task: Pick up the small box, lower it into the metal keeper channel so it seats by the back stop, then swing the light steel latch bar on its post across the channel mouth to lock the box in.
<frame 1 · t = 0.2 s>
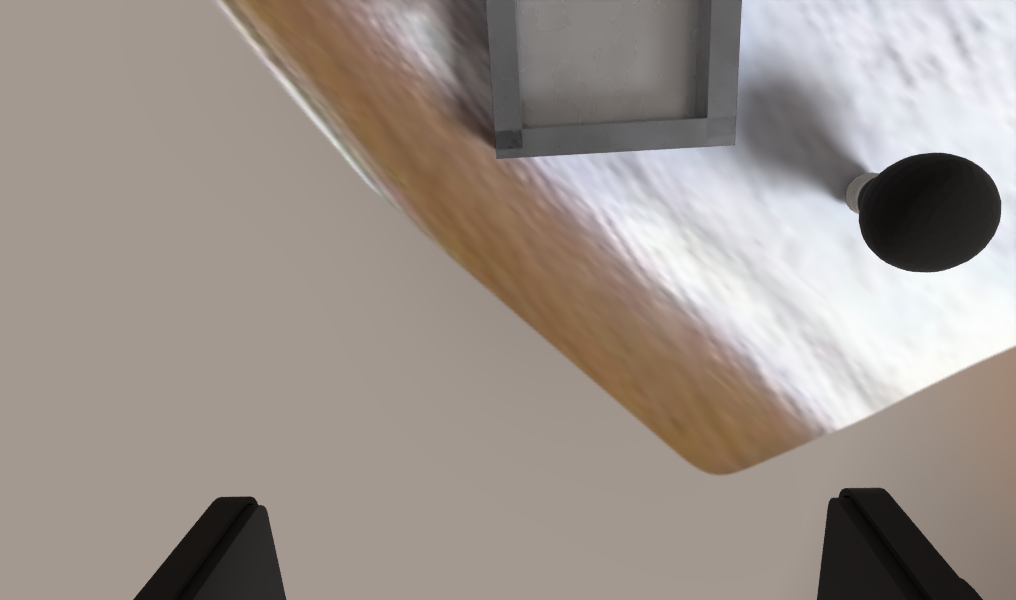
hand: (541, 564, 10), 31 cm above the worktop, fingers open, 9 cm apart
keeper: (606, 29, 36), on the worktop
light bulb: (858, 190, 38), on the worktop
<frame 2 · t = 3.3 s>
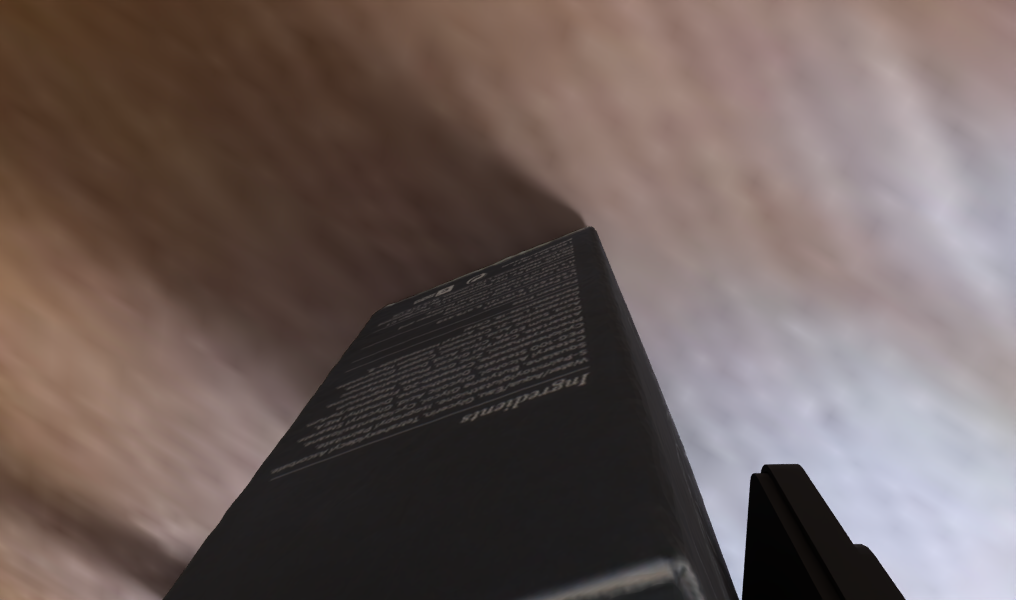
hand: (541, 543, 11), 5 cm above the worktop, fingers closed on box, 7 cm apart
box: (543, 402, 16), on the worktop, touching gripper
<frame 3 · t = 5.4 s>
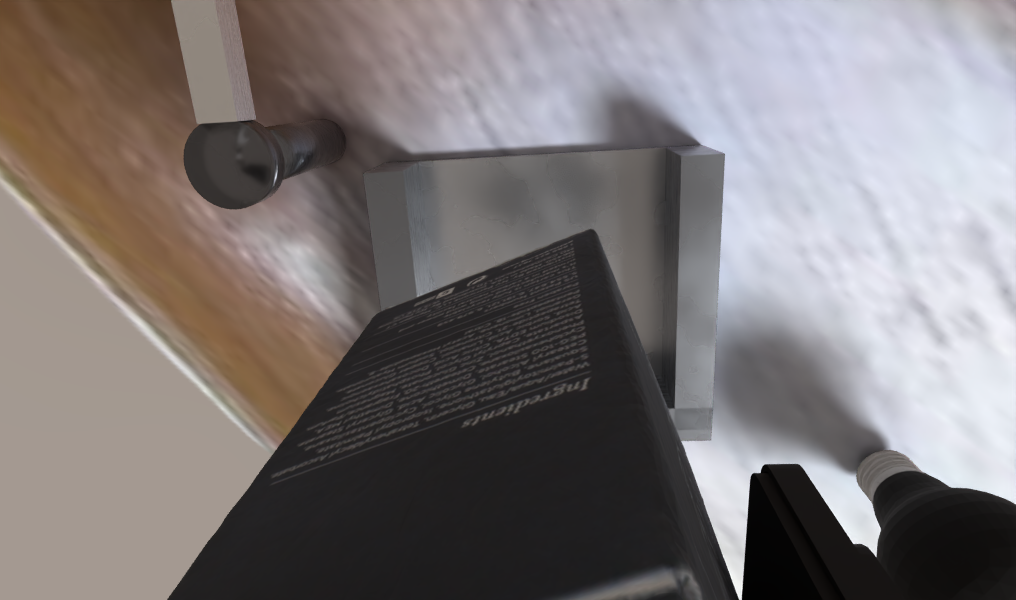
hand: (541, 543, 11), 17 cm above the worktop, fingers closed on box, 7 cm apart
keeper: (545, 270, 27), on the worktop
light bulb: (872, 459, 30), on the worktop
box: (544, 404, 16), point 12 cm above the worktop, touching gripper
when the fingers open (7 cm above the worktop, at t = 7.5 s): box drops 1 cm, resting on keeper.
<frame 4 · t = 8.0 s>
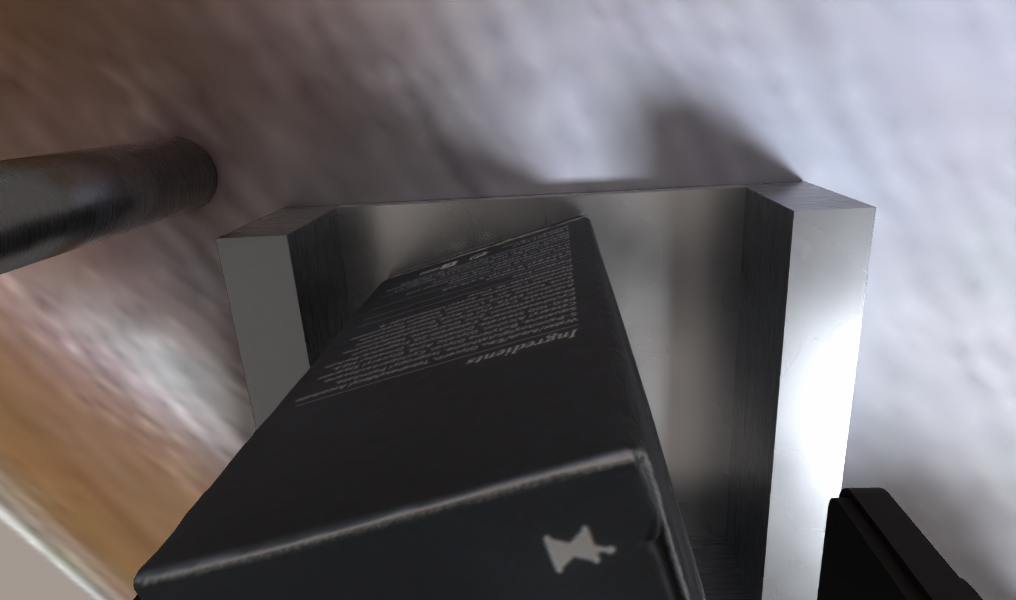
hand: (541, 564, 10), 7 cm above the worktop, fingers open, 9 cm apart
keeper: (544, 377, 17), on the worktop
box: (530, 376, 17), resting on keeper
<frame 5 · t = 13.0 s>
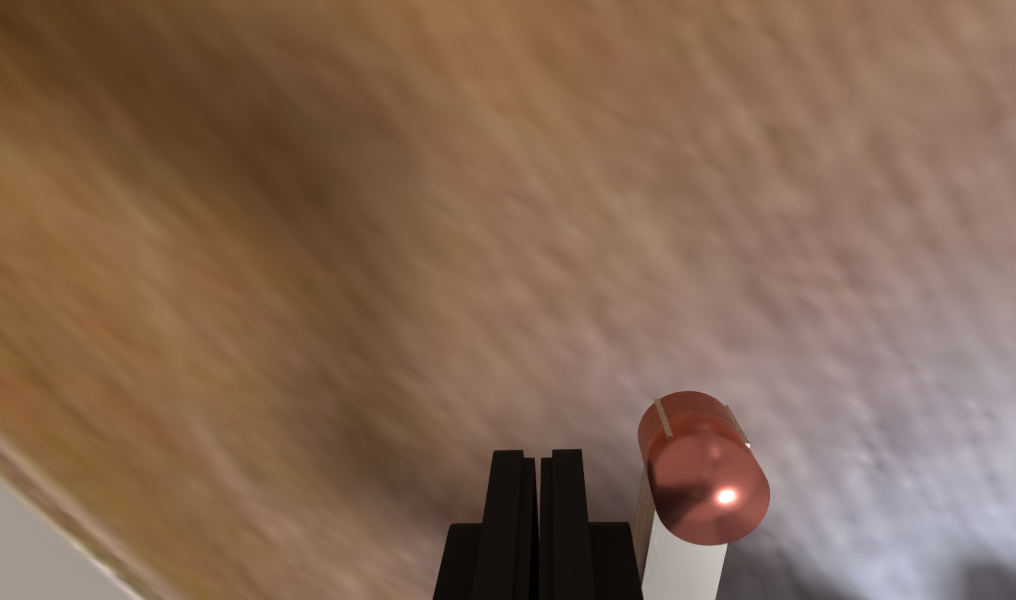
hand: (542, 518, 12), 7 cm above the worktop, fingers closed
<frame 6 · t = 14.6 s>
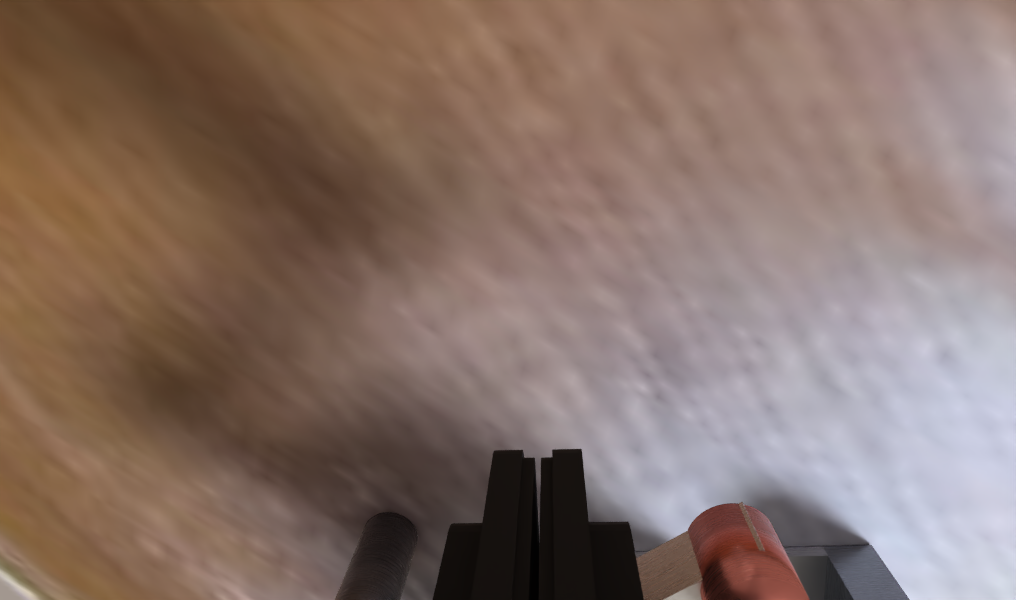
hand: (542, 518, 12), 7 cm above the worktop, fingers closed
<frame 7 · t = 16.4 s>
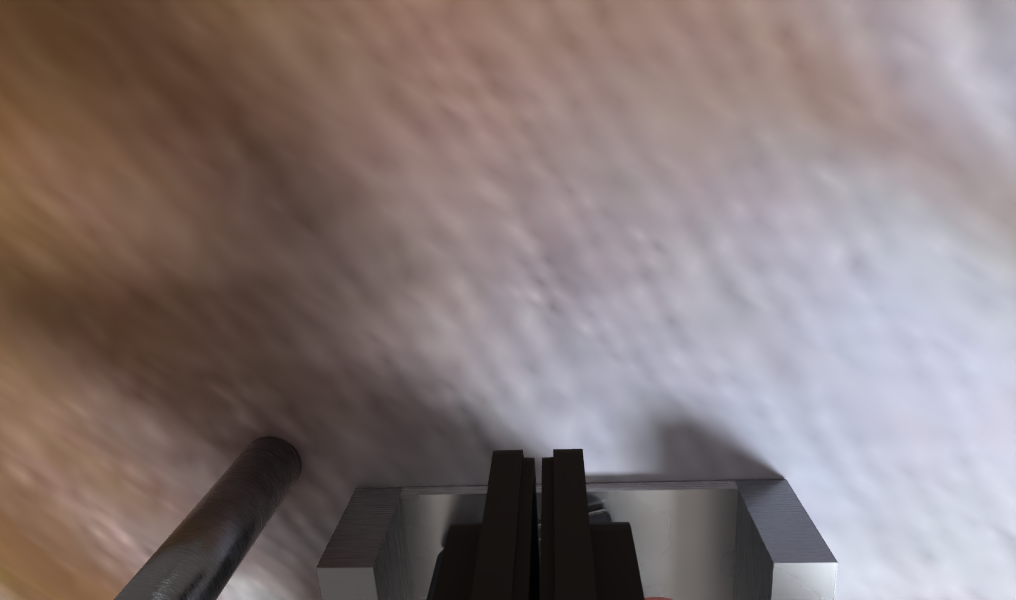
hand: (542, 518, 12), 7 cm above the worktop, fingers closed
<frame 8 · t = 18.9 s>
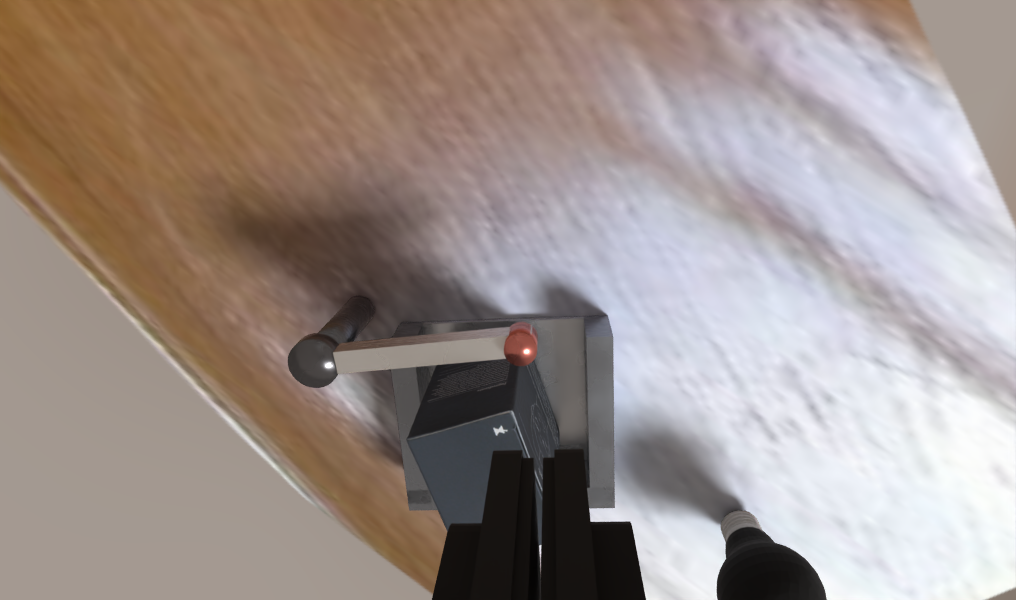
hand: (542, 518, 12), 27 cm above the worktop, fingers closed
keeper: (507, 391, 41), on the worktop
light bulb: (734, 515, 43), on the worktop
box: (501, 391, 41), resting on keeper
latch: (411, 353, 31), point 8 cm above the worktop, hinge at -86.3°
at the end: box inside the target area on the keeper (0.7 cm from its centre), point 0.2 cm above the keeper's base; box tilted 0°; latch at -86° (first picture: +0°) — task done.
